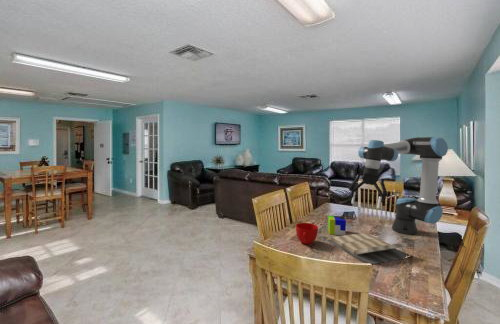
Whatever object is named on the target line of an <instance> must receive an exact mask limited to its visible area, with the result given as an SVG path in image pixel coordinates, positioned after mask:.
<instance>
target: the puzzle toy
mask: <svg viewBox="0 0 500 324" xmlns="http://www.w3.org/2000/svg"><path fill="white" fill-rule="evenodd" d="M327 220H328V221H327V232H328V234H329V235H330V236H331V235H332V236H344V235H346V231H347V230H346V228H347V227H346V225H347V220H346V219H345V216H344V215H343V216H341V215H340V216H339V215H328V217H327Z"/></svg>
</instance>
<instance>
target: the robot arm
mask: <svg viewBox="0 0 500 324" xmlns="http://www.w3.org/2000/svg"><path fill="white" fill-rule="evenodd" d="M448 147H449V146H448V142H447V141H446V140H445V139H444V138H443V137H437V136H427V137H425V136H424V137H420V136H416V137H412V138H407V139H401V140H399V141H398V142H391V143H386V144H385V143H384V141H383V140H378V139H376V140H375V139H371V140H369V142H368V145H367V146H361V147H360V148H359V149H358V151H357V152H358V153H357V154H358V157H359V158H360V159H363V160H365V163H364V169H363V173H362V175H361V174H356V177H355V179H354V180H353V182H352V183H351V184H350V185H349V186H348V188H347V189H348V190H349V191H351V192H350V198H351V204H353V205H354V204H355V199H356V195H357V193H356V191H357V190H358V189H359V188H361V187H362V186H364V185H370V186H373V187H374V188H375V189H376V191H377V193H378V194H379V195H380V196H378V199H377V205H376V208H377V209H381V204H383V202H384V198H385V197H389V194H388V191H387V188H386V185H385V179H384V178H379V175H380V174H379V173H380V170H379V169H380V168H381V161H387V162H395V161H396V160H397V159H398V157H399V155H414V156H419V159H420V160H421V162H422V163H421V174H420V175H421V176H420V189H419V197H418V198H414V197H399V198H397V199H396V203H395V206H396V207H395V219H394V221H393V224H392V227H391V229H392V231H394V232H396V233H399V234H403V235H411V236H412V234H414V235H417V234H419V233H418V231H419V230H418V227H417V223H416V220H417V221H420V222H423V223H428V224H437V223H438V222H439V221H440V220H441V218H442V217H443V214H444V213H443V212H444V211H443V208H442V207H441V206H440V205H439V204H440V203H439V201H438V200H437V192H438V191H437V190H438V189H437V188H438V179H439V178H438V177H439V165H440V163H439V162H440V161H442V160H443V157H445V156H446V155H447V154H448V149H449V148H448ZM361 179H362V181H360V183H358V184H357V182H359V180H361ZM377 182H379V183H380V187H381V188H380V187H379V184H378V183H377ZM356 184H357V185H356ZM355 185H356V186H355Z"/></svg>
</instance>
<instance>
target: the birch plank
mask: <svg viewBox="0 0 500 324" xmlns="http://www.w3.org/2000/svg"><path fill="white" fill-rule="evenodd" d="M404 247H408V243H407V242H399V243H392V244H391V245H384V246H378V247H371V248H365V249H360V250H355V253H356V254H363V253H369V252H376V251H382V250H389V249H400V248H404Z"/></svg>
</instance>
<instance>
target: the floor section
mask: <svg viewBox="0 0 500 324" xmlns="http://www.w3.org/2000/svg"><path fill="white" fill-rule="evenodd" d="M327 242H329V244H332V245H333V246H335V247H337V248H338V249H340V250H342V251H343V252H345V253H346V254H348V255H350V256H352V257H353V258H355V259H356V260H357V261H359V262H361V263H363V264H364V263H371V264H373V265H378V264H377V263H379V264H383V263H382V262H384V263H389V262H388V261H390V262H394V261H393V260H396V261H399V260H398V259H402V260H404V259H403V258H405V257H406V255H407V256H409V255H410V254H409V253H407V252H404V251H401V250H400V249H398V248H395V249H389V250H382V251H376V252H369V253H363V254H356V253H355V250H360V249H365V248H371V247H378V246H384V245H391V244H390V243H389V242H386V241H385V240H382V239H380V238H377V237H375V236H373V235H371V234H368V233H367V232H361V233H354V234H353V233H352V234H345V235H344V236H343V235H335V236H331V237H330V239H327ZM410 257H413V256H412V255H410ZM413 258H414V257H413Z"/></svg>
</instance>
